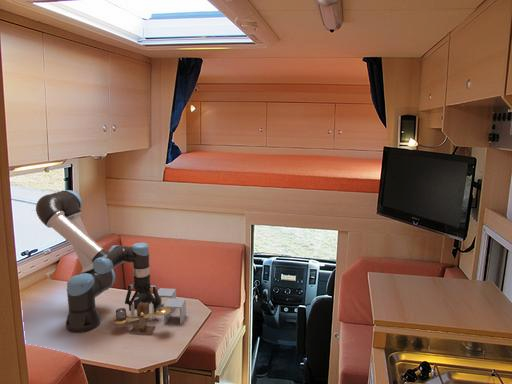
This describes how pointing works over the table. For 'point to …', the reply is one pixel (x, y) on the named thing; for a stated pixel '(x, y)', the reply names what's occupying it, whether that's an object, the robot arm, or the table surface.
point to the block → (143, 308)
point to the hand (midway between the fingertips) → (143, 317)
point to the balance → (140, 320)
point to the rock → (141, 299)
